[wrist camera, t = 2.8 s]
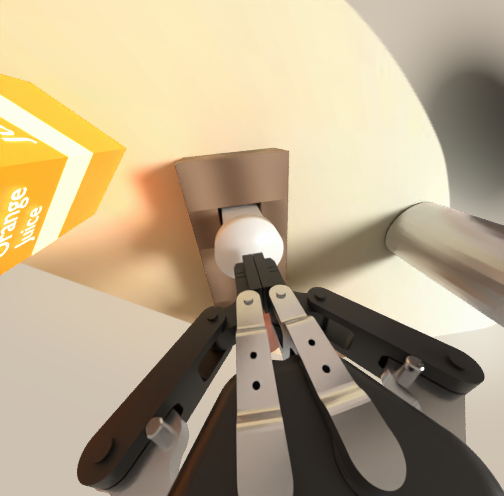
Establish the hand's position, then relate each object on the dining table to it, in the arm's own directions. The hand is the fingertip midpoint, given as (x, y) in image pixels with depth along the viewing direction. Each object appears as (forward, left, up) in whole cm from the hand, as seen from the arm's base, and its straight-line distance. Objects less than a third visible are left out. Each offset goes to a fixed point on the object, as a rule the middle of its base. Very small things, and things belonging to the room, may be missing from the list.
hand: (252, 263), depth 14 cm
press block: (0, +7, -12) cm, 14 cm away
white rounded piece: (0, 0, -8) cm, 8 cm away
